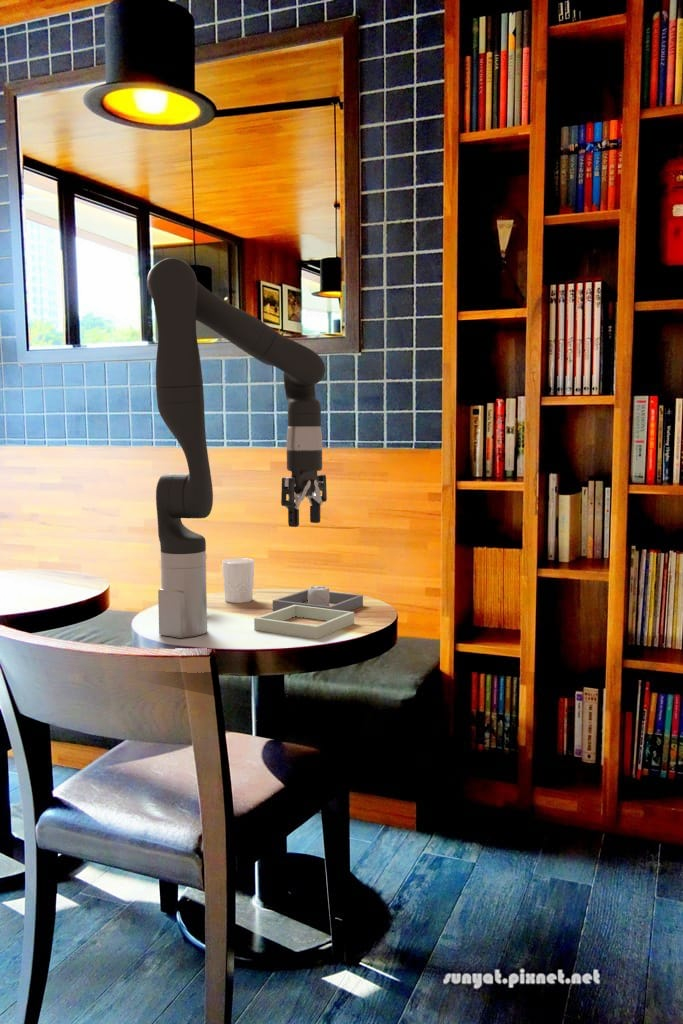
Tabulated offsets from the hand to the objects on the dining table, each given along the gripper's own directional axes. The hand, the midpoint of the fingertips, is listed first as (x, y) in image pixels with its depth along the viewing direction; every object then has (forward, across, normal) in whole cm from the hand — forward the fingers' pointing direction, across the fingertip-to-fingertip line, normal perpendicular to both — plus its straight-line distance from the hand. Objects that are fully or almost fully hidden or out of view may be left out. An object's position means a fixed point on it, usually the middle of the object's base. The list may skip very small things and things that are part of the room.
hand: (304, 524), depth 175 cm
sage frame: (+22, 0, 0) cm, 22 cm away
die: (+22, +17, +7) cm, 29 cm away
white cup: (+22, +15, +29) cm, 40 cm away
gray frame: (+22, +17, +7) cm, 29 cm away
